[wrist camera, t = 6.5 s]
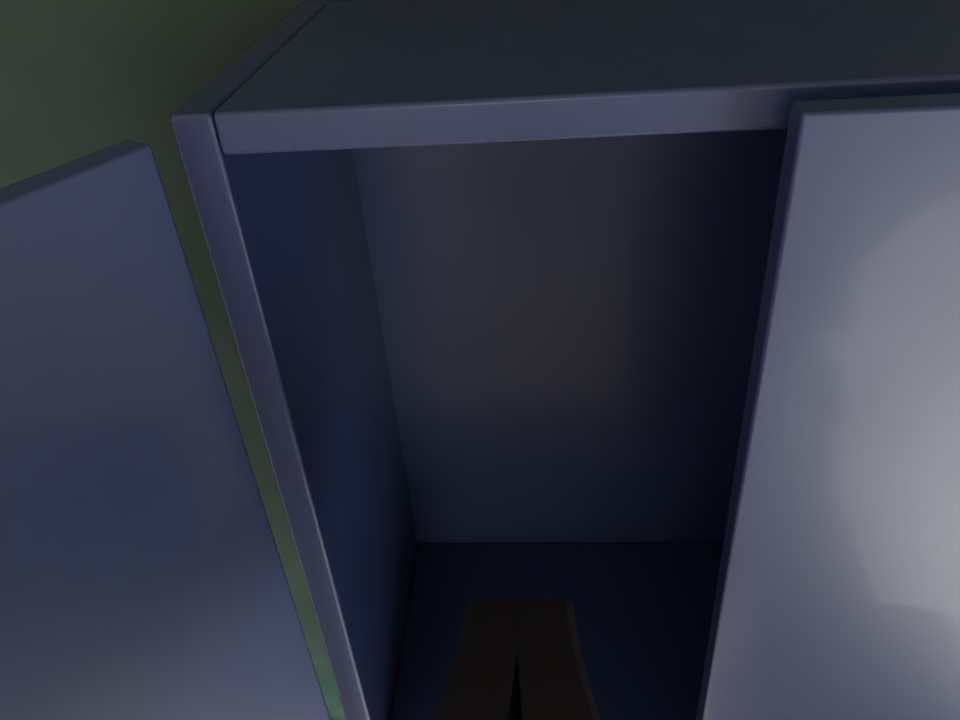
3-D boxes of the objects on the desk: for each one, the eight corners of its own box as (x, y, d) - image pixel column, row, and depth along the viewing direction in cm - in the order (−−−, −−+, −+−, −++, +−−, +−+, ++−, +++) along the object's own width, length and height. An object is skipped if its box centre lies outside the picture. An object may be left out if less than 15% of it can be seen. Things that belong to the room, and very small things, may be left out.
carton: (890, 540, 21) (1032, 834, 15) (403, 541, 22) (354, 815, 16) (1085, -53, 13) (1559, 70, 7) (306, -3, 14) (135, 139, 8)
